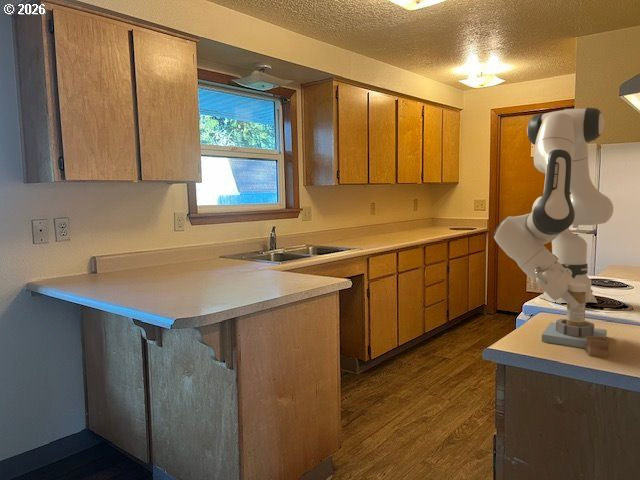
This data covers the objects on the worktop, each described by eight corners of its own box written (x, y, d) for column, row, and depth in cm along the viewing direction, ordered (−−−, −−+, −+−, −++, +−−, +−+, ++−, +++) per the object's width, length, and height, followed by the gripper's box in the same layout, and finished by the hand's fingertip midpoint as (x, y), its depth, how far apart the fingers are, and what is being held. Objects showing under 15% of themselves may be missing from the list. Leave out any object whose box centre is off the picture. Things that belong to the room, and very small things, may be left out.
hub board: (550, 328, 137) (551, 313, 137) (606, 336, 129) (607, 320, 128) (541, 341, 126) (542, 325, 125) (602, 351, 118) (602, 333, 117)
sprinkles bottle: (567, 328, 130) (569, 281, 129) (586, 331, 127) (588, 283, 126) (563, 332, 127) (565, 283, 125) (582, 335, 124) (584, 286, 122)
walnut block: (585, 351, 118) (585, 335, 118) (602, 352, 117) (603, 336, 117) (589, 356, 114) (590, 340, 114) (607, 357, 113) (608, 341, 113)
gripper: (542, 263, 121) (584, 304, 116) (555, 254, 137) (592, 290, 132) (523, 278, 124) (563, 319, 119) (538, 267, 140) (574, 303, 135)
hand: (578, 304), depth 126 cm, fingers closed on sprinkles bottle, 4 cm apart
